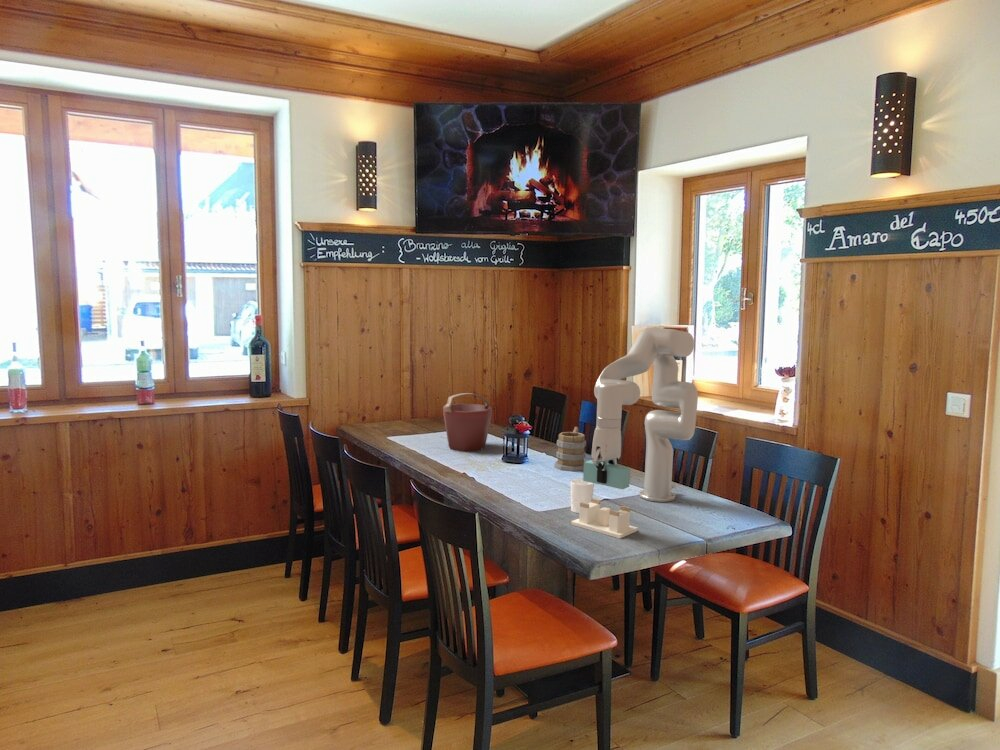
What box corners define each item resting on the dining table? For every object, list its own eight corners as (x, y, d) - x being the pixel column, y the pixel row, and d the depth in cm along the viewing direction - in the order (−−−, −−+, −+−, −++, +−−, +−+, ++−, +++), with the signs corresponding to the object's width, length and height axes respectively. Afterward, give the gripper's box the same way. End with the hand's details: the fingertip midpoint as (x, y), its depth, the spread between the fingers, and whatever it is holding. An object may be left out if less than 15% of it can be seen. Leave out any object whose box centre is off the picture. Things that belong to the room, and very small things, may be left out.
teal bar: (589, 478, 230) (590, 459, 230) (629, 486, 222) (630, 467, 221) (583, 480, 227) (583, 462, 226) (622, 489, 219) (623, 469, 218)
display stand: (589, 517, 236) (590, 495, 235) (637, 530, 224) (638, 508, 223) (571, 524, 228) (571, 502, 228) (620, 538, 217) (621, 515, 216)
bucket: (447, 454, 319) (448, 398, 316) (432, 443, 339) (433, 390, 336) (499, 450, 328) (500, 396, 325) (481, 440, 348) (482, 389, 345)
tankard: (582, 472, 294) (583, 436, 292) (551, 469, 297) (553, 433, 296) (591, 461, 312) (593, 427, 311) (563, 458, 316) (564, 424, 314)
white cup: (591, 507, 247) (592, 478, 246) (594, 514, 239) (596, 485, 238) (567, 507, 247) (569, 478, 245) (570, 514, 239) (572, 484, 238)
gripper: (613, 418, 231) (610, 474, 233) (582, 424, 218) (580, 483, 221) (633, 421, 226) (630, 478, 228) (603, 428, 214) (601, 488, 216)
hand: (606, 480), depth 224 cm, fingers closed on teal bar, 4 cm apart
